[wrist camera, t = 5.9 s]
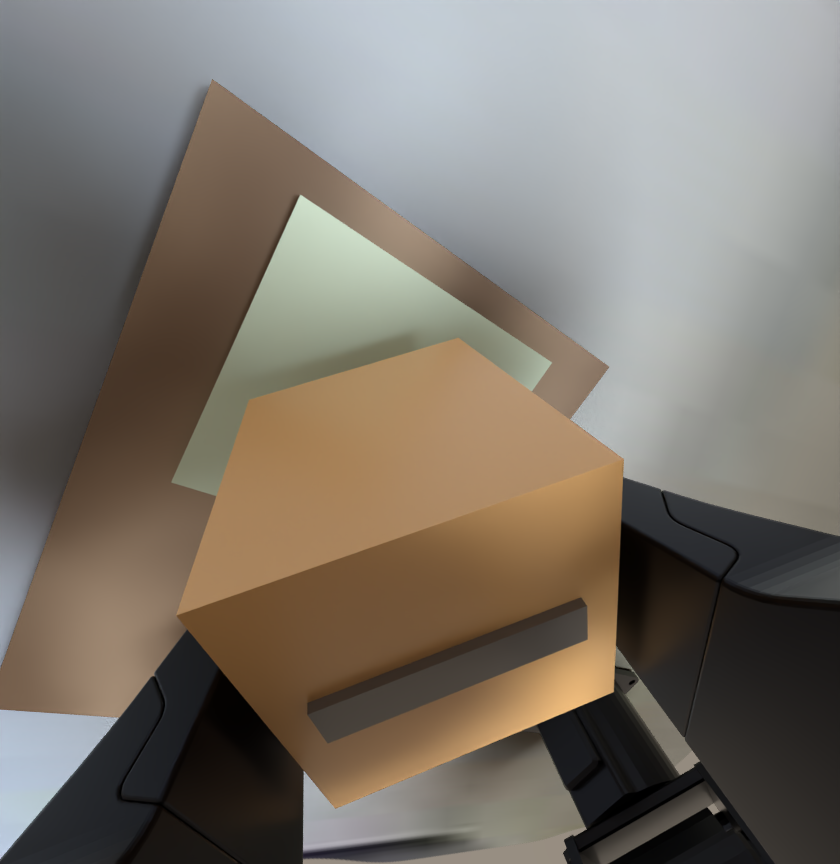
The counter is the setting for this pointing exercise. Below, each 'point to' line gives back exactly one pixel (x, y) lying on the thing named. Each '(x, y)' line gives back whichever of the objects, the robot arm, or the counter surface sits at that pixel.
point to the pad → (333, 330)
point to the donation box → (409, 566)
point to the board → (200, 406)
